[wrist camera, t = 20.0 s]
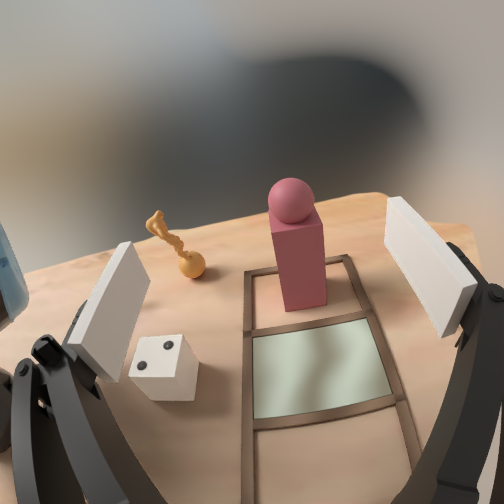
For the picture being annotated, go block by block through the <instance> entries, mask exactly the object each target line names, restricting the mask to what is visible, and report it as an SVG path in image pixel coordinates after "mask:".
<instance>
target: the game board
mask: <svg viewBox="0 0 504 504" xmlns="http://www.w3.org/2000/svg"><path fill="white" fill-rule="evenodd" d="M337 262H343V263H344V266H345V268H346V270H347V273H348V275H349V277H350V280H351V282H352V285H353V287H354V289H355V292H356V294H357V297H358V299H359V302H360V304H361V307H362V309H363V311H360V312H355V313H351V314H346V315H341V316H336V317H330V318H325V319H320V320H314V321H308V322H303V323H297V324H290V325H284V326H277V327H271V328H264V329H256V330H252V277H255V276H261V275H267V274H273V273H279V272H278V266H275V267H269V268H263V269H257V270H250V271H244V311H243V367H242V445H241V504H254V430H265V429H276V428H285V427H293V426H300V425H307V424H314V423H320V422H325V421H331V420H336V419H341V418H345V417H350V416H354V415H358V414H363V413H367V412H370V411H374V410H378V409H382V408H385V407H389V406H392V405H395V406H396V409H397V413H398V416H399V420H400V424H401V427H402V431H403V435H404V439H405V443H406V447H407V451H408V455H409V460H410V464H411V469H412V473H413V471H414V469H415V467H416V465H417V463H418V461H419V459H420V457H421V451H420V447H419V443H418V440H417V436H416V432H415V429H414V425H413V422H412V418H411V415H410V412H409V408H408V405H407V402H406V399H405V396H404V392H403V389H402V386H401V383H400V380H399V378H398V375H397V372H396V369H395V366H394V363H393V361H392V358H391V355H390V352H389V350H388V347H387V345H386V342H385V339H384V337H383V334H382V332H381V329H380V327H379V324H378V322H377V319H376V317H375V314H374V312H373V310H372V307H371V305H370V303H369V300H368V298H367V296H366V293H365V291H364V289H363V286H362V284H361V282H360V280H359V278H358V275H357V273H356V271H355V269H354V267H353V265H352V262H351V260H350V258H349V256H348V254H345V255H339V256H333V257H328V258H325V265H326V264H332V263H337ZM253 385H254V419H253Z"/></svg>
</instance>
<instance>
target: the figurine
mask: <svg viewBox="0 0 504 504" xmlns="http://www.w3.org/2000/svg"><path fill="white" fill-rule="evenodd" d="M163 216H164V214H163V213H162V211H160V210H158V211H157V212H156V213H155V215H154V216H153V217H151V218H150V219H149V220H147V222H146V227H147V229H148V230H149V231H150V232H151V233H153V234H154V235H156V236H159V237H160V239H163V240H165V241H167V243H169V244H170V245H173V247H174V249H175V251H176V252H177V253H178V255H179V256H180V257H181V259H180V261H179V268H180V271H181V272H182V274H183V275H184V276H186V277H188V278H196V277H199V276H200V275H201V274H202V273H203V272H204V270H205V266H206V264H205V260H204V258H203V256H202V255H201V254H199V253H197V252H194V251H191V252H188V251H184V252H183V250H182V249H183V246H184V243H183V241H181V240H180V238H179V237H178V236H175V235H173V234H170V233H168V231H167V227H166V224H165V222H164V221H163V220H162V218H163Z"/></svg>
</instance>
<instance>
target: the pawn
mask: <svg viewBox="0 0 504 504" xmlns="http://www.w3.org/2000/svg"><path fill="white" fill-rule="evenodd" d="M268 204H269V208H270V210H268V213H269V220H270V227H271V234H272V239H273V245H274V250H275V256H276V261H277V266H278V272H279V278H280V283H281V289H282V294H283V300H284V306H285V312H288V311H294V310H300V309H306V308H311V307H317V306H323V305H327V297H326V270H325V251H324V236H323V224H322V222H321V220H320V217H319V215H318V213H317V211H316V209H315V207H314V195H313V192H312V190H311V189H310V187H309V186H308V185H307V184H306V183H305V182H303V181H301V180H299V179H296V178H286V179H283V180H281V181H279V182H277V183H276V184H275V185H274V186H273V187H272V189H271V191H270V193H269V197H268Z"/></svg>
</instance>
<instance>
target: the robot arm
mask: <svg viewBox="0 0 504 504" xmlns="http://www.w3.org/2000/svg"><path fill="white" fill-rule="evenodd" d="M384 245H385V246H386V248H387V249H388V251H389V252H390V254H391V255H392V257H393V258H394V260H395V261H396V263H397V264H398V266H399V267H400V269H401V271H402V272H403V274H404V275H405V277H406V279H407V280H408V282H409V283H410V285H411V287H412V288H413V290H414V292H415V293H416V295H417V297H418V299H419V300H420V302H421V304H422V305H423V307H424V309H425V311H426V313H427V314H428V316H429V318H430V320H431V322H432V324H433V325H434V327H435V329H436V331H437V333H438V335H439V337H440V339H441V338H444V337H447V336H449V335H452V334H455V332H456V330H457V328H458V326H459V324H460V325H461V327H462V328H463V332H462V333H461V335H460V337H459V339H458V341H457V342H456V344H455V347H456V348H457V346H458V344H459V346H458V351H457V355H456V359H455V363H454V367H453V371H452V374H451V378H450V381H449V385H448V388H447V391H446V394H445V397H444V400H443V403H442V406H441V409H440V412H439V414H438V417H437V420H436V422H435V425H434V427H433V430H432V432H431V435H430V437H429V439H428V442H427V444H426V446H425V448H424V450H423V453H422V455H421V457H420V459H419V461H418V463H417V465H416V467H415V469H414V471H413V473H412V475H411V476H410V478H409V480H408V482H407V484H406V485H405V487H404V488H403V490H402V491H401V492H400V493H399V494H398V495H397V496H396V497H395V498H394V500H393V501H392V502H391V504H477V503H478V500H479V492H478V490H477V483H478V480H479V477H480V474H481V472H482V469H483V467H484V464H485V461H486V458H487V455H488V452H489V449H490V446H491V442H492V439H493V436H494V432H495V428H496V424H497V420H498V416H499V411H500V407H501V402H502V417H501V434H500V446H499V455H498V462H497V469H496V475H495V480H494V485H493V490H492V495H491V499H490V504H504V289H503V288H502V287H501V286H499V285H497V284H492V283H491V284H488V282H487V281H486V280H485V279H484V277H483V276H482V275H481V274H480V272H479V271H478V270H477V269H476V267H475V266H474V265H473V264H472V263H470V260H469V259H468V258H467V257H465V254H464V253H463V252H462V251H461V250H460V249H459V248H458V247H457V246H455V245H454V244H452V243H451V242H447V243H445V242H444V241H443V240H442V239H441V238H440V237H439V235H438V234H437V233H436V232H435V231H434V230H433V229H432V228H431V227H430V226H429V225H428V224H427V223H426V221H425V220H424V219H423V218H422V217H421V216H420V215H419V214H418V213H417V212H416V211H415V210H414V209H413V208H412V207H411V206H410V205H409V204H408V203H407V202H406V201H405V200H403V199H402V198H401V197H392V198H387V214H386V227H385V238H384ZM149 284H150V279H149V277H148V275H147V273H146V271H145V269H144V267H143V265H142V263H141V261H140V259H139V257H138V254H137V252H136V250H135V248H134V246H133V244H132V242H131V241H130V242H125V243H120V244H119V245H118V247H117V249H116V250H115V252H114V254H113V255H112V257H111V259H110V260H109V262H108V264H107V266H106V267H105V269H104V271H103V273H102V274H101V276H100V278H99V280H98V282H97V283H96V285H95V287H94V289H93V291H92V293H91V295H90V297H89V299H88V300H86V301H85V302H84V303H83V304H82V306H81V307H80V308H79V310H78V312H77V314H76V316H75V317H76V318H74V320H73V322H72V325H71V326H70V328H69V330H68V332H67V334H66V337H65V339H64V341H63V343H62V345H61V346H60V345H59V344H58V342H57V341H56V340H55V339H54V338H53V337H52V336H51V335H49V334H48V335H44V336H42V337H40V338H39V339H38V340H37V341H36V342H35V344H34V345H33V347H32V350H31V355H32V356H33V357H34V358H35V359H36V360H37V361H38V362H39V364H35V363H34V362H33V361H32V360H31V359H29V358H25V359H23V360H22V361H20V362H19V363H18V365H17V367H16V369H15V373H14V376H12V375H11V374H10V373H9V372H8V371H6V370H4V369H2V368H0V452H2V451H4V450H5V449H6V448H7V447H8V446H9V445H10V444H11V449H12V464H13V475H14V483H15V490H16V496H17V502H18V504H86V503H85V499H84V496H83V493H84V495H85V497H86V499H87V501H88V503H89V504H168V503H167V502H166V501H165V500H164V498H163V497H162V496H161V494H160V493H159V491H158V490H157V489H156V487H155V486H154V484H153V483H152V482H151V480H150V479H149V477H148V476H147V474H146V473H145V471H144V470H143V468H142V466H141V465H140V463H139V462H138V460H137V458H136V457H135V455H134V454H133V452H132V450H131V448H130V447H129V445H128V443H127V442H126V440H125V438H124V436H123V434H122V432H121V431H120V429H119V427H118V425H117V423H116V421H115V419H114V417H113V415H112V413H111V411H110V409H109V407H108V405H107V403H106V401H105V398H104V396H103V394H102V392H101V389H100V387H99V385H98V384H97V383H96V382H95V379H96V376H98V377H99V378H100V379H101V380H102V381H103V382H106V383H118V381H119V377H120V374H121V370H122V367H123V363H124V360H125V356H126V353H127V350H128V346H129V343H130V340H131V337H132V333H133V330H134V327H135V324H136V321H137V318H138V315H139V312H140V309H141V306H142V304H143V301H144V298H145V295H146V292H147V289H148V287H149ZM28 302H29V292H28V289H27V285H26V282H25V280H24V277H23V274H22V272H21V269H20V267H19V265H18V262H17V259H16V257H15V254H14V252H13V250H12V247H11V245H10V242H9V240H8V238H7V236H6V233H5V231H4V229H3V227H2V225H1V223H0V331H2V330H3V329H4V328H5V327H6V326H8V325H9V324H10V323H12V322H13V321H14V319H15V318H16V317H17V316H18V315H19V314H20V313H21V312H22V311H23V310H25V309H26V307H27V305H28ZM38 399H39V400H40V401H41V402H43V408H42V407H41V406H39V405H38ZM82 491H83V492H82Z"/></svg>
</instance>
